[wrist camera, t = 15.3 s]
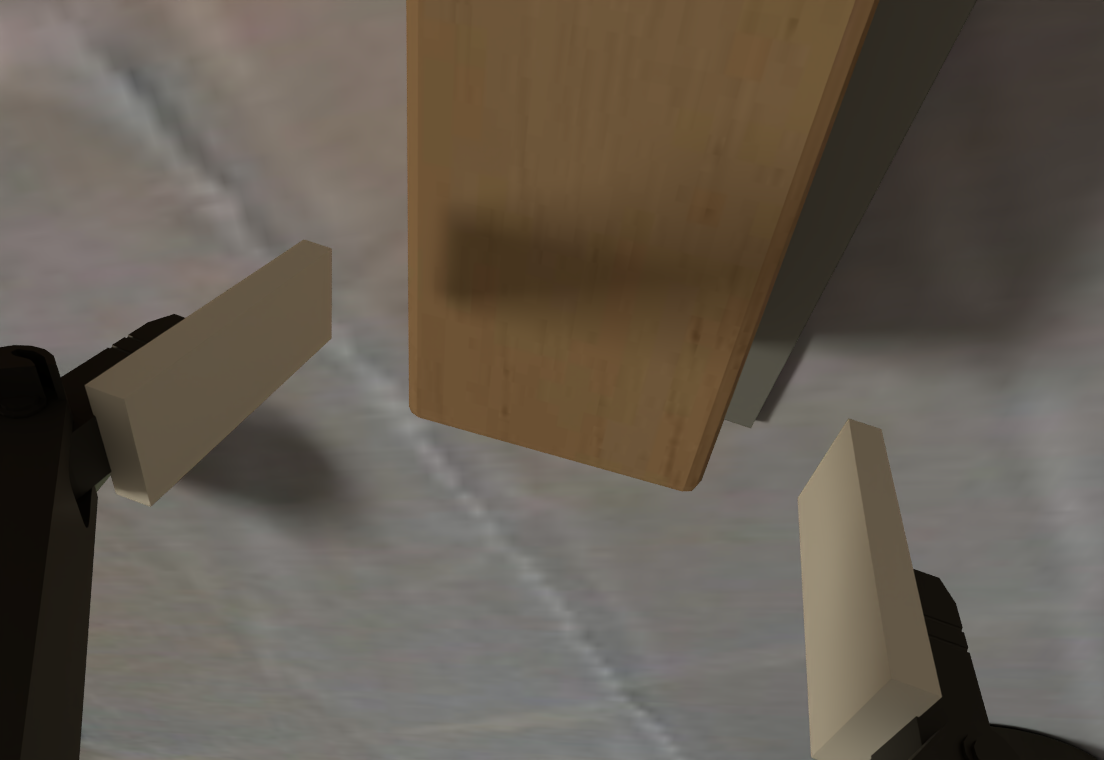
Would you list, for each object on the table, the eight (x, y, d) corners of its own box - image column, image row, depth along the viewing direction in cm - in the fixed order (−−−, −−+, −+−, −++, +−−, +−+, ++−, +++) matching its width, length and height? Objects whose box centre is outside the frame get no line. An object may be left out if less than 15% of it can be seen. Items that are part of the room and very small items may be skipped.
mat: (1245, -525, 14) (1261, -539, 14) (750, 420, 31) (750, 428, 31) (550, -654, 16) (543, -671, 15) (438, 317, 33) (433, 323, 32)
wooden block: (715, 341, 29) (930, -307, 17) (696, 502, 21) (1075, -511, 9) (499, 288, 30) (554, -347, 18) (403, 419, 22) (389, -555, 10)
